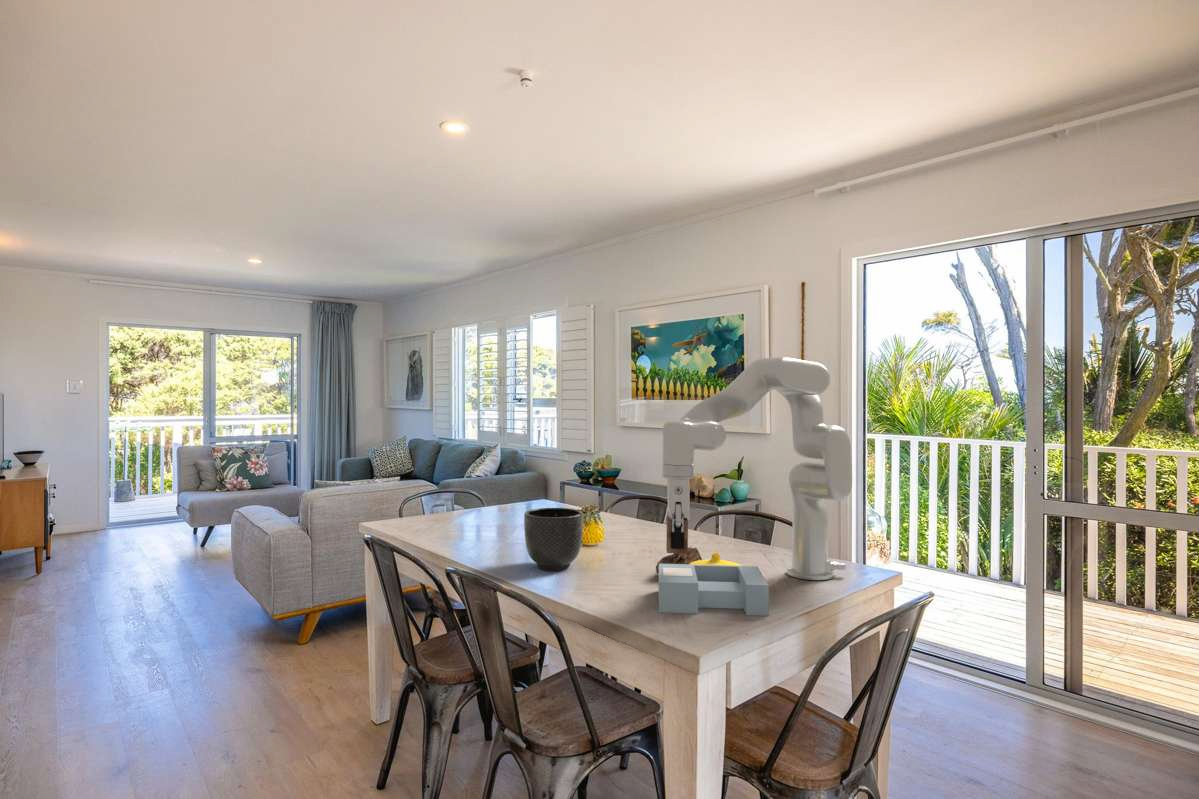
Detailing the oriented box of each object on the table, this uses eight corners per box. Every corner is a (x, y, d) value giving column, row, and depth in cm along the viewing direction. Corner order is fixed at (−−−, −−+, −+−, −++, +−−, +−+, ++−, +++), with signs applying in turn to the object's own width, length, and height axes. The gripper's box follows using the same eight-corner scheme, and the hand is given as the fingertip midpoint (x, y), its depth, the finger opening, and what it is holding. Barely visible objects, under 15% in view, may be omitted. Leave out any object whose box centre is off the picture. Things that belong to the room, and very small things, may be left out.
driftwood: (682, 585, 177) (682, 554, 177) (653, 581, 180) (653, 551, 180) (703, 565, 198) (703, 538, 198) (677, 562, 201) (677, 535, 201)
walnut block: (686, 548, 164) (687, 516, 164) (687, 553, 159) (688, 520, 159) (666, 548, 165) (666, 516, 165) (666, 552, 160) (667, 519, 160)
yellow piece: (675, 579, 182) (675, 553, 182) (709, 569, 193) (709, 544, 193) (723, 591, 171) (723, 564, 171) (756, 579, 182) (756, 554, 182)
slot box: (757, 593, 169) (757, 565, 169) (768, 615, 152) (768, 584, 152) (658, 590, 171) (658, 562, 171) (659, 612, 154) (659, 580, 154)
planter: (594, 568, 193) (595, 513, 192) (545, 578, 182) (545, 520, 182) (560, 557, 206) (560, 505, 206) (512, 565, 195) (512, 511, 195)
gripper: (695, 475, 153) (694, 554, 153) (691, 468, 170) (690, 539, 170) (662, 475, 154) (661, 553, 154) (662, 467, 171) (661, 538, 171)
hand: (677, 545), depth 162 cm, fingers closed on walnut block, 5 cm apart
